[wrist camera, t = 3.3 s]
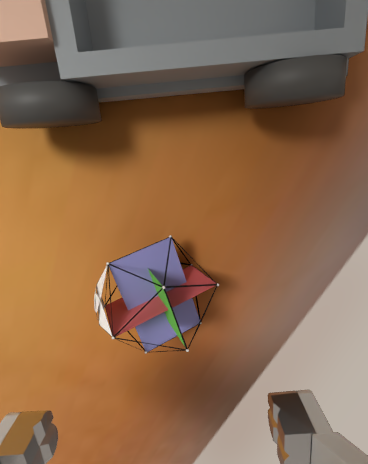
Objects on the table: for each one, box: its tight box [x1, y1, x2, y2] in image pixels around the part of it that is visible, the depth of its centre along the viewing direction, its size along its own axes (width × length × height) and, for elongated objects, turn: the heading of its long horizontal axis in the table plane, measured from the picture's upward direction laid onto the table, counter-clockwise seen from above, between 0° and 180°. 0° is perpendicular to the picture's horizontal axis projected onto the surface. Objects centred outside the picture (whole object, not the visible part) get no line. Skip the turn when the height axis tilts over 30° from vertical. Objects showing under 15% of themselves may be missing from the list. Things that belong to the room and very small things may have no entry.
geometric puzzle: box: [94, 235, 219, 353], centre depth 18 cm, size 7×7×8 cm
